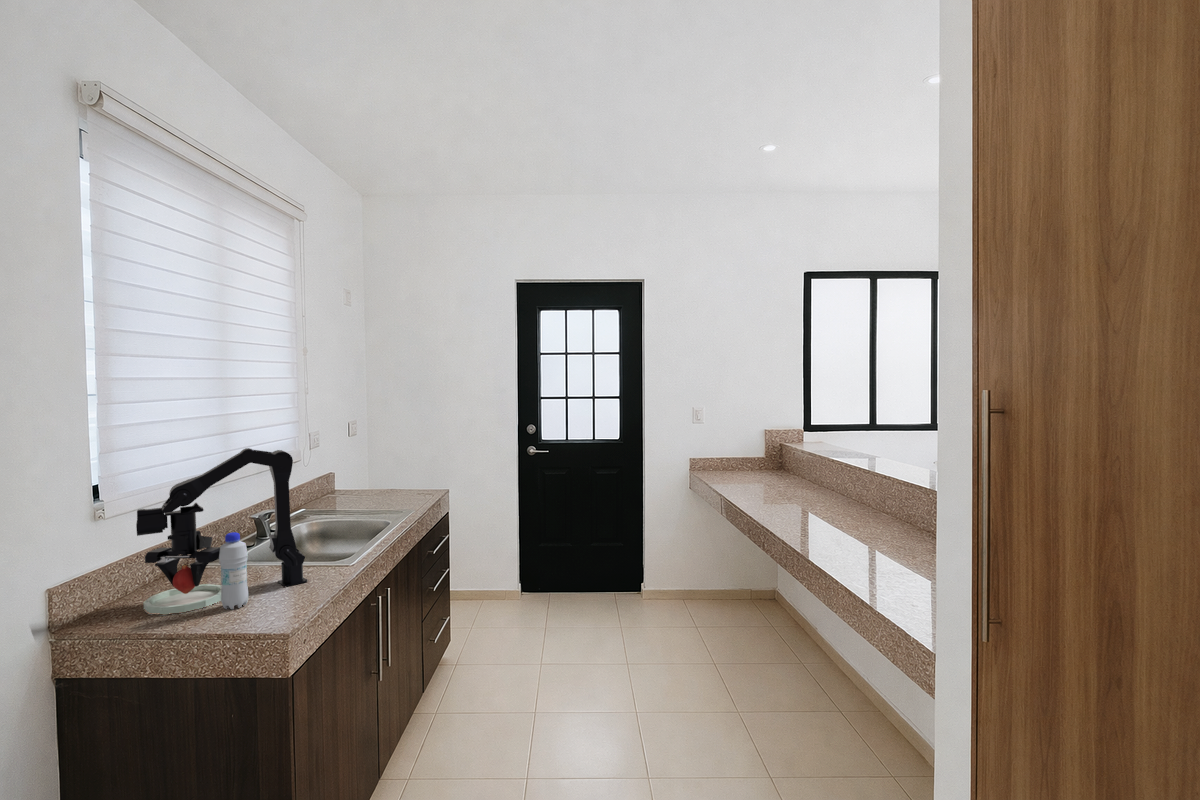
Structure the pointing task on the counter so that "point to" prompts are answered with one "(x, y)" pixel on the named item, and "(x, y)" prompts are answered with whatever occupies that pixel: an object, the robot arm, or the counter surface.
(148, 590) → the counter surface
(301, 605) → the counter surface
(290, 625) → the counter surface
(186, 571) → the onion
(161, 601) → the plate
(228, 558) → the bottle
